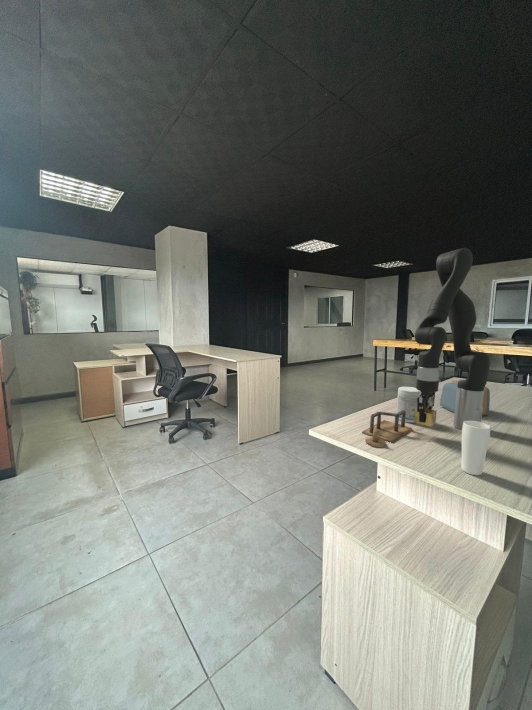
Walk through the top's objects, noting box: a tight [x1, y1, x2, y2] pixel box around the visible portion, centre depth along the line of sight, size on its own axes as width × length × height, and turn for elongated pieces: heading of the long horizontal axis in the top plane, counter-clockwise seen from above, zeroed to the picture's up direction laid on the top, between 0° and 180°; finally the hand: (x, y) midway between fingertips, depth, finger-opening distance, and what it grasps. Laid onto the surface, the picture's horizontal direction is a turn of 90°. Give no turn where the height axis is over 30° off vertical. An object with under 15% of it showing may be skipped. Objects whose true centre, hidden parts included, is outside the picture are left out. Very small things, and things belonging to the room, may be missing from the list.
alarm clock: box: [439, 379, 491, 416], centre depth 145 cm, size 16×16×16 cm
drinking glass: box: [460, 421, 492, 476], centre depth 85 cm, size 7×7×15 cm
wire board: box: [361, 410, 413, 444], centre depth 116 cm, size 12×20×8 cm, turn 133°
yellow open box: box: [413, 407, 437, 427], centre depth 112 cm, size 6×6×5 cm
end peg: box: [365, 430, 387, 448], centre depth 105 cm, size 7×7×5 cm
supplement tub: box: [396, 386, 421, 424], centre depth 130 cm, size 10×10×15 cm
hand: (425, 419), depth 112 cm, fingers closed on yellow open box, 6 cm apart
